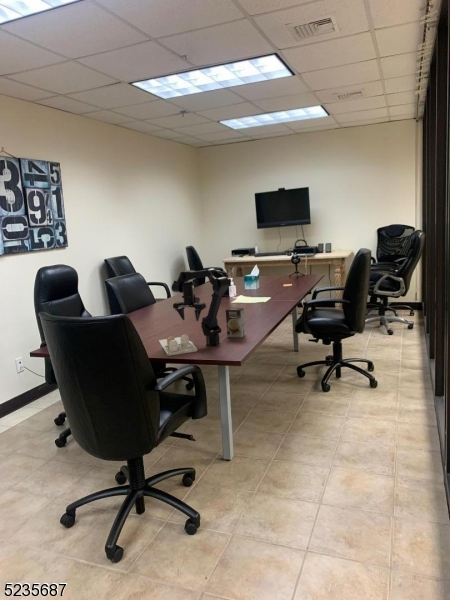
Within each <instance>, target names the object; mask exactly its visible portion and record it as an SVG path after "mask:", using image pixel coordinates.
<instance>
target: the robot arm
mask: <svg viewBox="0 0 450 600" xmlns="http://www.w3.org/2000/svg"><path fill="white" fill-rule="evenodd" d="M177 278H178V279H175V280H173V282H172V285H171V291H172V292H173V293H181V294H182V295H181V298H182V299H183V301H177V302H174V303H173V304H172V309H174V310H175V311H176V312H177V313H178V314H179V316H180V318H181V319H182V321H185V318H186V317H185V308H194V310H193V311H194V316H195V320H196V322H199V321H200V320H199V319H200V316H201V312H202V311H203V310H204V309H206V308H207V304H206V303H205V302H201V301H200V300H201V297H198V296H196V294H194V286H196V283H195V282H194V281H193V280H195V279H201V278H207V279H208V281H209V283H210V284H211V285H212V287H211V288H212V291H213V294H212V297H211V301H210V305H209V309H208V312H207V315H205V316H203V317H202V319H201V323H200V324H201V326H200V327H201V330H202V333H203V336H205V340H206V344H205V346H206V347H207V346H208V347H215V348H216V347H217V346H219V345H221V344H222V342H220V334H221V332H222V328H221V327H220V325H219V323H218V318H217V317H218V313H219V310H220V307H221V306H220V305H221V302H222V299H223V295H224V294H225V293H226V292H227V291H228V288H229V286H230V281H229V278H228V277H227V276H225V275H224V274H223V273H221V272H219V271H217V269H215V268H208V269H202V270H192V269H188V270H184V271H181V272H180V273H179V276H178V277H177Z"/></svg>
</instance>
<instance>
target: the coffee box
mask: <svg viewBox="0 0 450 600" xmlns="http://www.w3.org/2000/svg"><path fill="white" fill-rule="evenodd" d="M225 318H226V319H225V321H226V322H225V323H226V337H228V338H241V337H242V338H243V337H244V336H246V327H245V311H244V307H228V308H226V309H225Z"/></svg>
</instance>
